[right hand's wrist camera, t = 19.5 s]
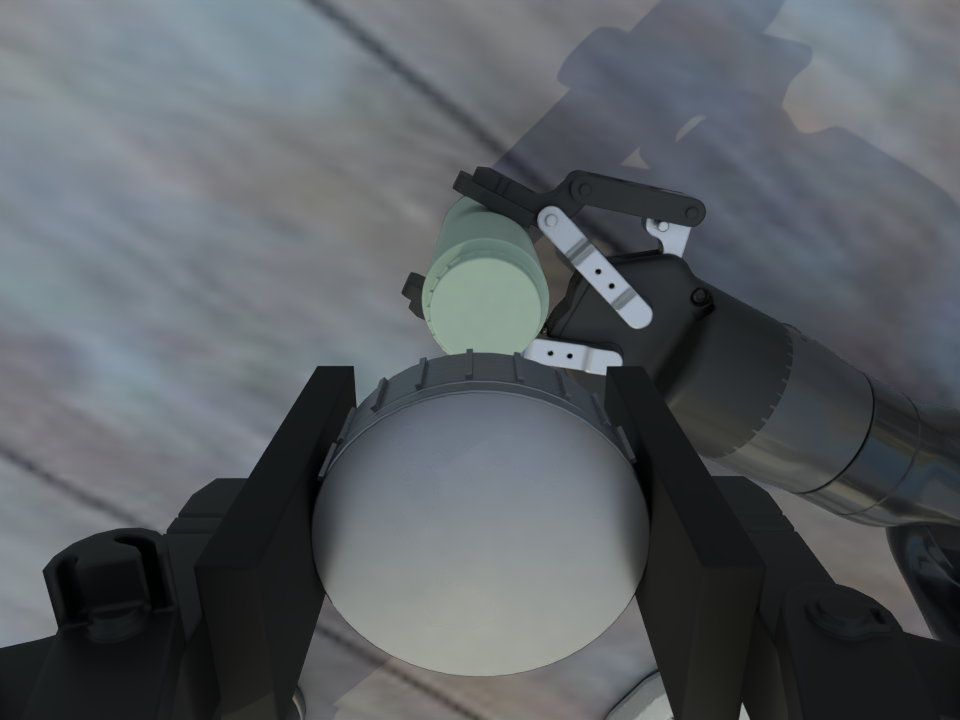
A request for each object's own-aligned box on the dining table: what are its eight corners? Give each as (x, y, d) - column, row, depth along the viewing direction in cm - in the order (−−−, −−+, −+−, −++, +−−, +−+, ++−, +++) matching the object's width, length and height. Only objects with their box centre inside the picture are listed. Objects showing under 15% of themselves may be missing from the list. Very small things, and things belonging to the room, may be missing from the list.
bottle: (480, 173, 36) (480, 216, 22) (543, 231, 37) (581, 307, 23) (424, 238, 37) (390, 318, 23) (487, 292, 38) (490, 400, 24)
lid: (610, 621, 13) (627, 690, 12) (326, 603, 13) (306, 670, 11) (659, 360, 11) (687, 400, 10) (325, 335, 11) (300, 373, 9)
